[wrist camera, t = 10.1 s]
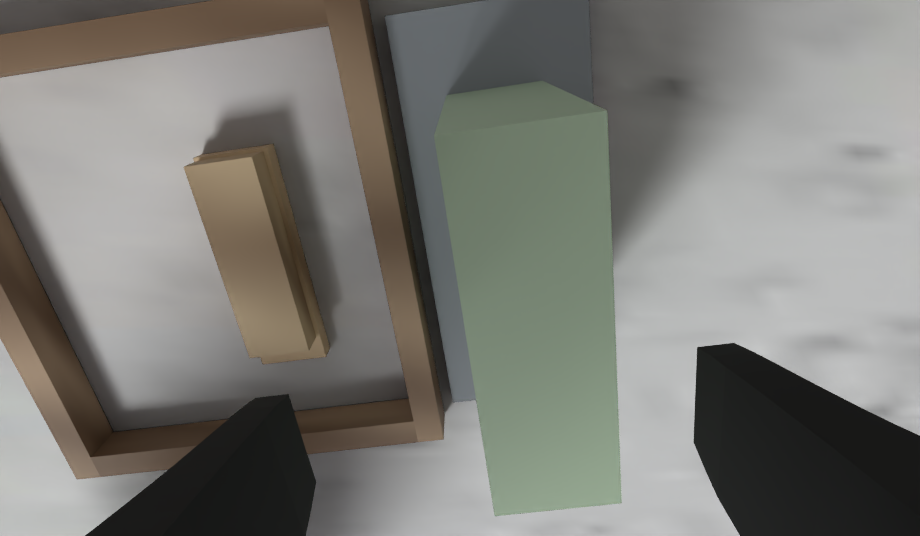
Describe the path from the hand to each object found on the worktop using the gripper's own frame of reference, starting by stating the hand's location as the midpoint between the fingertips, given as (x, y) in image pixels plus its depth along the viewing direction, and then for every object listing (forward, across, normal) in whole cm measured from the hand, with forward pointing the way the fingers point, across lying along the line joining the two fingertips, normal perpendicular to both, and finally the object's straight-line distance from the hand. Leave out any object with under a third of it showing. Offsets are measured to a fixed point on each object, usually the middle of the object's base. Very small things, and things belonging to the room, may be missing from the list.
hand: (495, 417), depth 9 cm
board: (+10, -1, 0) cm, 10 cm away
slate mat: (+10, -1, 0) cm, 10 cm away
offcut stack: (+11, +8, 0) cm, 13 cm away
